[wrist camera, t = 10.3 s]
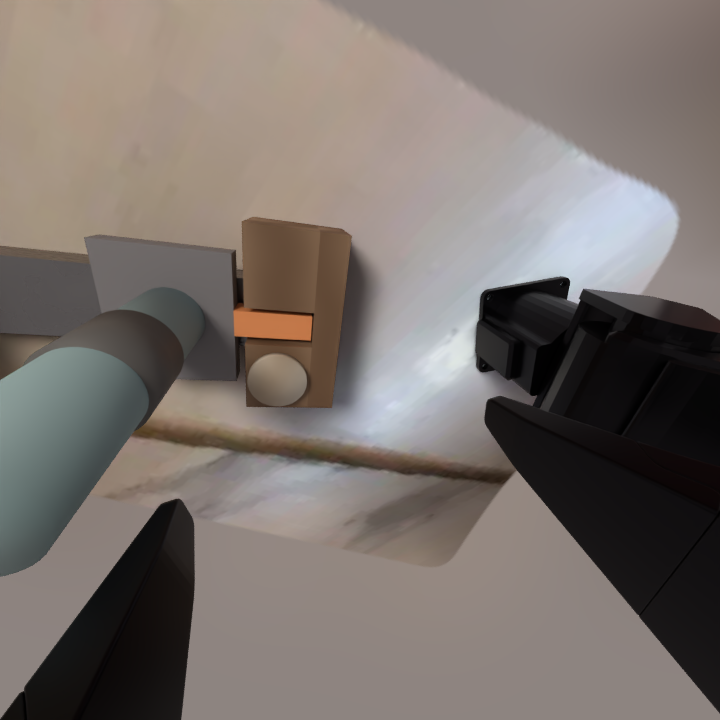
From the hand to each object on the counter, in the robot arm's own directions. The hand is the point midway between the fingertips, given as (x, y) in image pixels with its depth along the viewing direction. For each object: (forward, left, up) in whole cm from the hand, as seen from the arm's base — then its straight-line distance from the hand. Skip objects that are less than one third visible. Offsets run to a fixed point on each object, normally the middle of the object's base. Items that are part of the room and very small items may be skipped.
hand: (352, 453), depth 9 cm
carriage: (+8, -2, -11) cm, 13 cm away
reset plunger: (+3, -1, -11) cm, 11 cm away
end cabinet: (+2, 0, -13) cm, 13 cm away
